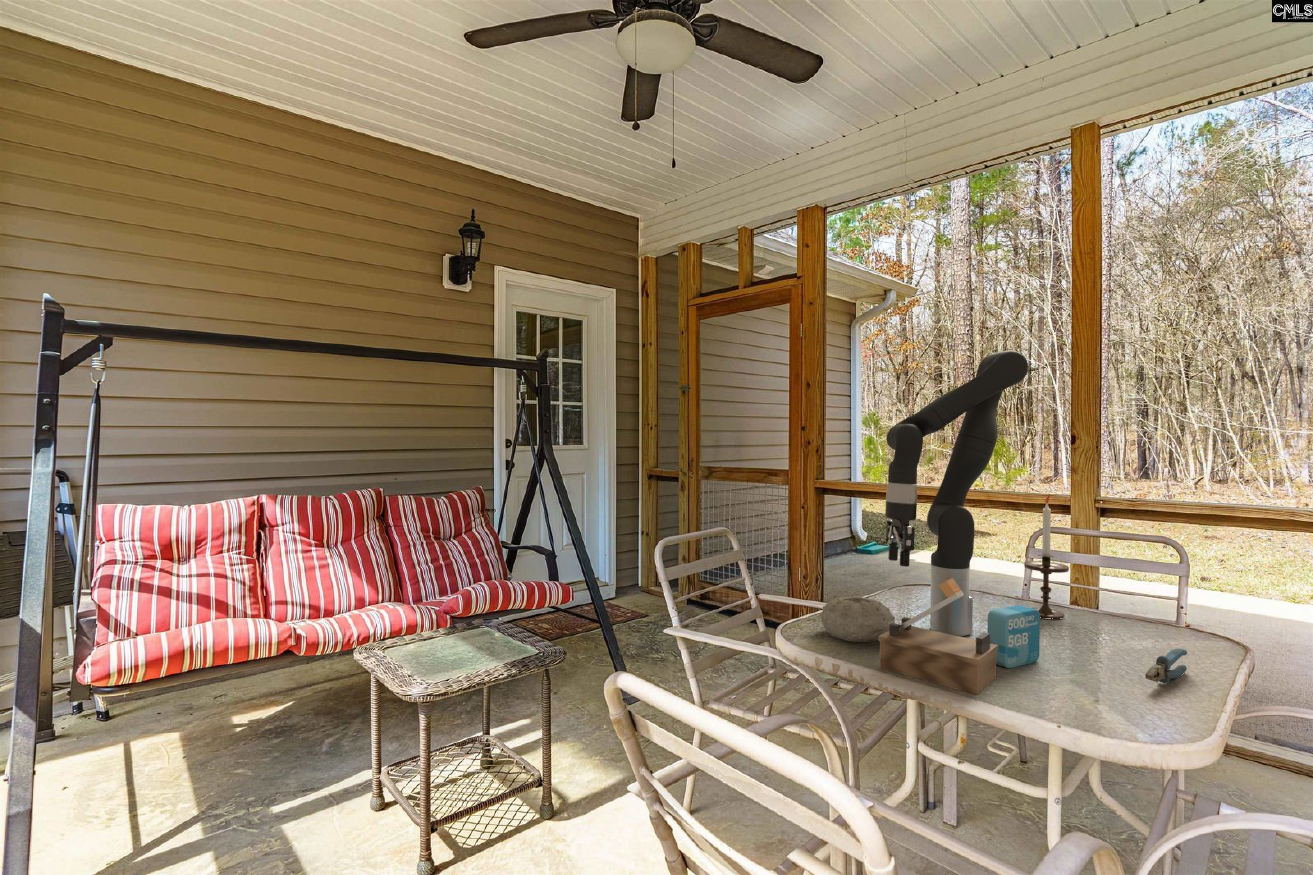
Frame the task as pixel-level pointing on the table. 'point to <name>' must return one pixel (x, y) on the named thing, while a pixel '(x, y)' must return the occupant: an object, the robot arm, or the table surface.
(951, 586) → the latch bar
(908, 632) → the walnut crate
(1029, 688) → the table surface
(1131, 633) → the table surface
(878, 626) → the grey rounded stone lump
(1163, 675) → the pliers
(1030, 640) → the data package
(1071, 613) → the table surface
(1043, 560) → the candlestick
